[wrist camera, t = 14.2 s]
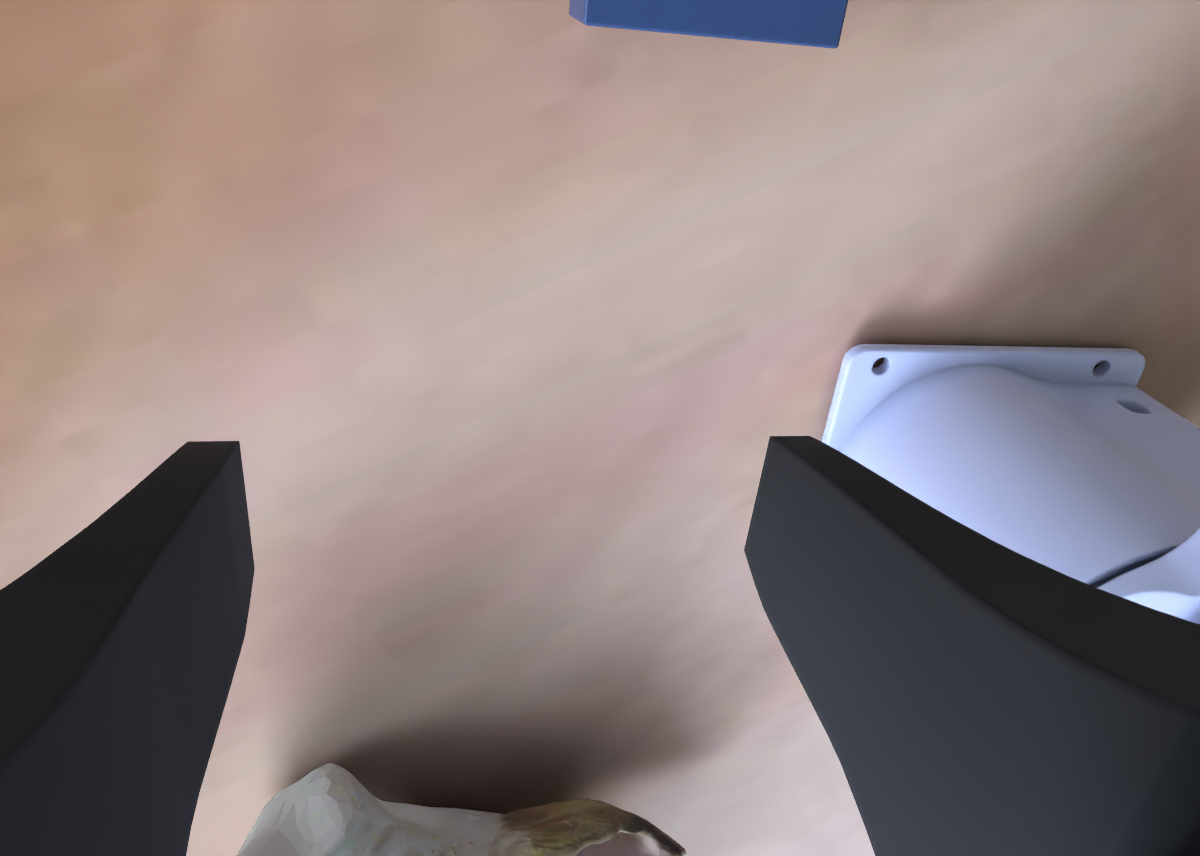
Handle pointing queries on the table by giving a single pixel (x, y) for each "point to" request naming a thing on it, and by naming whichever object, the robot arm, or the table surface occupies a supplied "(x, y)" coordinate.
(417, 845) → the ceramic sculpture
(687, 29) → the brush
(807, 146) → the table surface
